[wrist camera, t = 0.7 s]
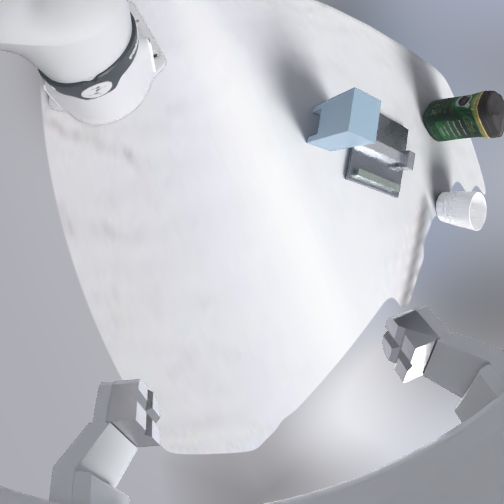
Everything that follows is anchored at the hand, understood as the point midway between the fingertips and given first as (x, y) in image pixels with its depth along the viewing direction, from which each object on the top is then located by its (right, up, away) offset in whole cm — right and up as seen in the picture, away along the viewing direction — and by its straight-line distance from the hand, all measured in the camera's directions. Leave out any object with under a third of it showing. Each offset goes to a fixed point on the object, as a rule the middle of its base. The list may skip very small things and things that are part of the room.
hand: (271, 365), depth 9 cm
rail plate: (+22, +22, +40) cm, 50 cm away
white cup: (+42, +14, +47) cm, 65 cm away
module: (+11, +24, +36) cm, 44 cm away
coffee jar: (+39, +32, +43) cm, 66 cm away
